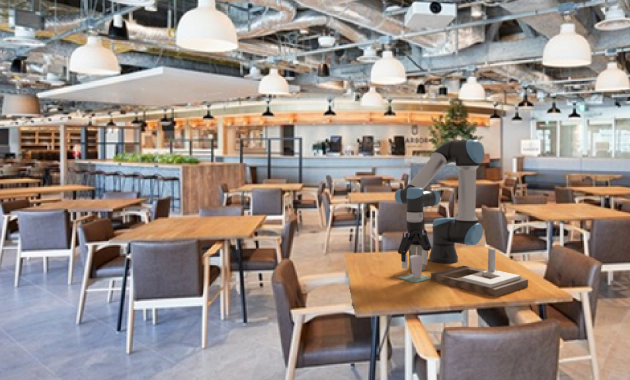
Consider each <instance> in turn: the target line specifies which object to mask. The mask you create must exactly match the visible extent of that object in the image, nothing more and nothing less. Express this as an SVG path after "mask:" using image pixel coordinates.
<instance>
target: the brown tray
mask: <svg viewBox="0 0 630 380" xmlns="http://www.w3.org/2000/svg"><path fill="white" fill-rule="evenodd" d="M484 271H488V269H487V270H486V269H481V268H478V267H473V266H468V265H461V266H456V267H452V268H447V269H444V270H443V269H442V270H440V271H436V272H431V273H430V277H431V279H430V281H433V282H438V283H441V284H445V285H449V286H452V287H456V288H461V289H464V290H467V291H472V292H475V293H479V294H483V295H485V296H486V295H487V296H490V297H494V298H496V297H499V296H502V295H506V294H508V293H513V292H514V291H517V290H520V289H524V288H527V287H528V286H529V279H528V278H523V277H521V279H518V280H515V281H512V282H509V283H505V284H502V285H499V286H496V287H492V288H490V287H486V286H482V285H478V284H473V283H469V282H465V281H462V277H465V276H469V275H474V276H478V277H482V278H487V279H492V278H493V277H488V276H484V275H482V272H484Z"/></svg>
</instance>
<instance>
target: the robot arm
mask: <svg viewBox="0 0 630 380" xmlns="http://www.w3.org/2000/svg"><path fill="white" fill-rule="evenodd" d="M484 159H485V149H484V146H483V144H482V143H481V142H480V141H479V140H476V139H462V140H450V141H447V142H445V143H443V144H441V145H440V146H439V147H437V148H436V149H435V150H434V151H433V152H432V153H431V154H430V157H429V160H428V161H427V162H425V164H424V165H423V166H422V168H420V170H419V171H418V172H417V173H416V174H415V176H413V178H412V179H411V180H410V181H409V183H408V184H407V185H406V186H405V187H404V188H399V189H397V190H396V191H395V193H394V199H395V200H394V201H395V202H396V203H397V204H400V205H405V206H406V229H407V232H403V233H402V238H401V241H400V244H399V247H398V250H397V254H399V255H401V258H400V260H401V269H404V270H409V254H408V253H409V248H410V246H411V244H412V243H413V242H415V241H418V242H419V243H420V245H421V247H422V248H423V250H422V256H423V257H424V259H423V264H425V266H427V265H428V259H429V260H430V261H431V262H434V263H441V264H451V263H458V261H459V255H458V253H457V250H456V244H460V245H461V244H462V245H466V246H476V245H478V244H479V243H480V242H481V239H482V238H483V234H484V228H483V225H482V224H481V223H479V218H478V217H477V216H476V206H477V205H476V202H477V201H476V199H477V195H476V192H477V190H476V189H477V169H478V168H479V167H480V163H482V162H483V161H484ZM452 163H455V167H456V168H457V169H458V189H457V191H458V193H457V196H458V197H457V198H458V199H457V200H458V201H457V216H456V217H441V218H435V219H433V221H432V227H431V228H432V245H431V243H430V239H429V237H428V231H427V230H426V229H424V208H427V207H429V208H430V207H435V206H437V205H439V204H440V202H441V195H440V193H439V192H438V191H437V190H432V189H429V190H424V189H426V187H427V186H428V184H430V182H431V181H432V180H433V179H434V177H435V176H436V175H437V174H438V173H439V172H440V171H441V169H442V168H446V166H448V164H452ZM421 235H422V236H421ZM429 251H430V253H429Z"/></svg>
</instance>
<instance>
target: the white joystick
mask: <svg viewBox="0 0 630 380" xmlns="http://www.w3.org/2000/svg"><path fill="white" fill-rule="evenodd" d="M487 255H488V257H487V258H488V259H487V271H484V272H482V275H484V276H488V277H493V278H492V279H487V278H482V277H478V276H474V275H469V276H468V275H466V276H465V277H464V276H462V281H465V282H469V283H473V284H478V285H482V286H486V287H490V288H492V287H496V286H499V285H502V284H505V283H509V282H512V281H515V280H518V279H521V278H522V277H521V275H520V274H515V273H510V272H505V271H501V270H496V249H495V248H493V247H492V248H491V247H490V248H488V253H487Z"/></svg>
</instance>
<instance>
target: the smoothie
mask: <svg viewBox="0 0 630 380" xmlns="http://www.w3.org/2000/svg"><path fill="white" fill-rule="evenodd" d="M410 259H411V266H412V270H411V274H413V277H414V278H421V275H422V272H423V271H422V265H423V259H424V257H423V256H420V255H417V247H416V255H412V256H410Z"/></svg>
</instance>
